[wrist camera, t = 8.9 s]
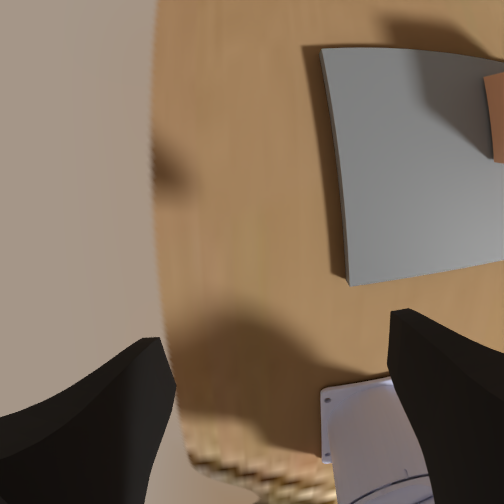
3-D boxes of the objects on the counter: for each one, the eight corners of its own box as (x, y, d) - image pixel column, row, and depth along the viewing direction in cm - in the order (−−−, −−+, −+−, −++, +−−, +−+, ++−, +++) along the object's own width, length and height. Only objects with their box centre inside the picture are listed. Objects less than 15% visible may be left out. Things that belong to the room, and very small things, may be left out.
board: (543, 245, 17) (551, 249, 16) (346, 279, 19) (349, 286, 18) (535, 74, 13) (543, 72, 12) (318, 54, 15) (321, 48, 14)
